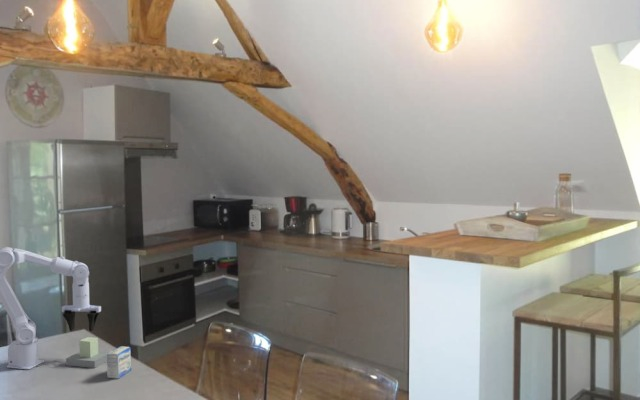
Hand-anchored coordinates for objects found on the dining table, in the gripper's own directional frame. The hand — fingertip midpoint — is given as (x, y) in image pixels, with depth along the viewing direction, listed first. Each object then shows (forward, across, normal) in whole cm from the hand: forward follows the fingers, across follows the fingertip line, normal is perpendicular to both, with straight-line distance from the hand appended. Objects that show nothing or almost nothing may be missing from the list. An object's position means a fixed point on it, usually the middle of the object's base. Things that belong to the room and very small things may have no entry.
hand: (82, 330), depth 199 cm
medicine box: (+11, +22, -16) cm, 29 cm away
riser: (+10, +5, -5) cm, 12 cm away
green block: (+8, +5, -5) cm, 10 cm away
